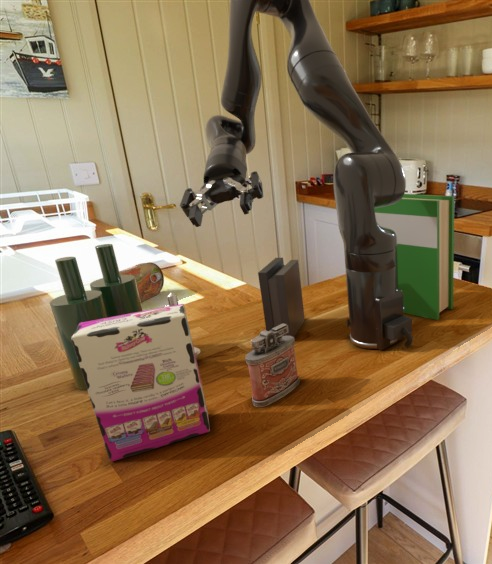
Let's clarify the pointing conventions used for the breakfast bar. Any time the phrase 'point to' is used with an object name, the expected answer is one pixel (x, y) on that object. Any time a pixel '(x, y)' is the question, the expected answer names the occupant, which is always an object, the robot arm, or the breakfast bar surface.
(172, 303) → the screw
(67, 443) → the breakfast bar surface
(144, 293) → the tin
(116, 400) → the candy bar box
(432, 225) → the hardback book
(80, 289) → the wine bottles
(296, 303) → the dark grey grooved block
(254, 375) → the lighter
